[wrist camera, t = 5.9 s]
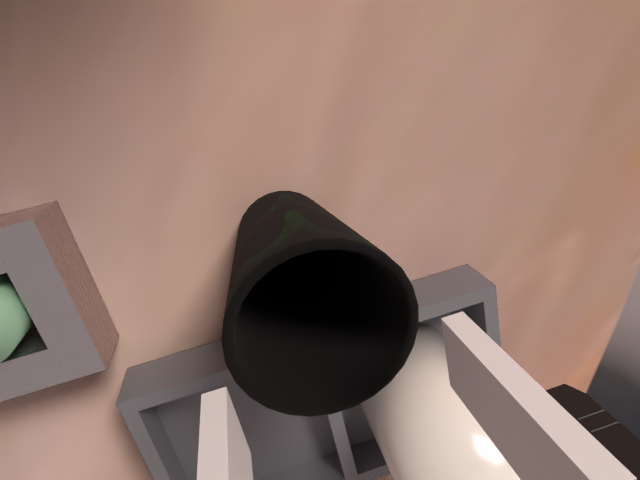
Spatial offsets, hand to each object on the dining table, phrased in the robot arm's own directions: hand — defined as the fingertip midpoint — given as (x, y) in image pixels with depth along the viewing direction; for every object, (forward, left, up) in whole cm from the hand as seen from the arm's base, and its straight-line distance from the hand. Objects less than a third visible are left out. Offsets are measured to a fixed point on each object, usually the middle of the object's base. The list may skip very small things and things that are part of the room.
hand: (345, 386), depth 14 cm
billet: (+12, +6, -14) cm, 19 cm away
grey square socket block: (-1, -16, -15) cm, 22 cm away
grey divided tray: (+12, 0, -15) cm, 19 cm away
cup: (0, 0, -15) cm, 15 cm away
